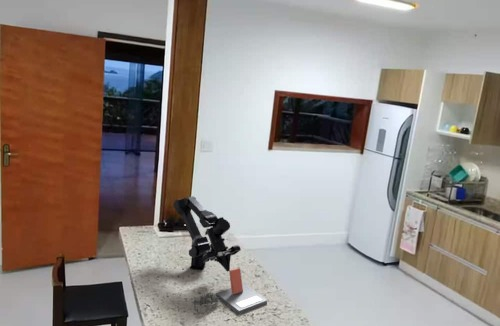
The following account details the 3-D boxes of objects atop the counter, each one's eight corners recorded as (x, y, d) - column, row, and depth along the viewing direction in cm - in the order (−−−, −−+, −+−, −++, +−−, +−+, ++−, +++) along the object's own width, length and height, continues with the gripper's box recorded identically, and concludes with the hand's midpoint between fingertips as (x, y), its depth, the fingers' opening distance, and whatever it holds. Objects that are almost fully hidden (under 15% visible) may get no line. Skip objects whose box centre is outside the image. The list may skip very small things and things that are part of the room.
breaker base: (215, 296, 175) (216, 292, 174) (243, 286, 185) (243, 283, 185) (238, 314, 163) (239, 310, 163) (266, 303, 174) (267, 299, 173)
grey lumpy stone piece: (200, 315, 160) (201, 306, 159) (189, 306, 165) (190, 297, 164) (220, 306, 167) (221, 297, 167) (209, 298, 173) (210, 290, 172)
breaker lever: (231, 294, 174) (228, 270, 175) (241, 291, 178) (238, 267, 179) (233, 295, 173) (230, 271, 174) (243, 291, 177) (241, 268, 178)
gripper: (223, 242, 197) (235, 272, 191) (191, 250, 185) (203, 282, 179) (235, 233, 190) (247, 264, 184) (202, 240, 178) (214, 273, 172)
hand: (228, 271), depth 180 cm, fingers closed
